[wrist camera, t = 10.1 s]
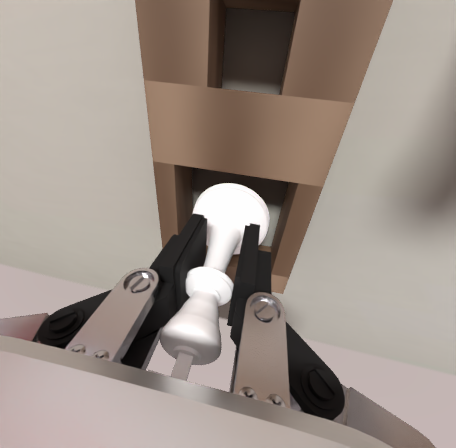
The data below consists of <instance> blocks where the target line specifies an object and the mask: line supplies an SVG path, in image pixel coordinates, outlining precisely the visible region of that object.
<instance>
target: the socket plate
mask: <svg viewBox="0 0 456 448" xmlns="http://www.w3.org/2000/svg"><path fill="white" fill-rule="evenodd" d="M392 2H393V0H135V4H136V13H137V22H138V31H139V40H140V49H141V58H142V67H143V76H144V85H145V94H146V103H147V112H148V121H149V130H150V139H151V148H152V157H153V166H154V175H155V184H156V193H157V202H158V211H159V220H160V229H161V238H162V247H163V248H164V247H165V245H166V244H167V242H168V241H169V240H170V238H171V237H172V236H173V235H174V234H176V235H179V234H180V232H181V231H182V229H183V228H184V226H185V225H186V223H187V222H188V220H189V219H190V217H191V216H192V167H194V168H201V169H208V170H214V171H221V172H227V173H234V174H241V175H247V176H254V177H261V178H267V179H274V180H280V181H287V182H289V183H288V187H287V190H286V194H285V198H284V201H283V205H282V209H281V212H280V216H279V220H278V223H277V227H276V231H275V234H274V238H273V242H272V246H271V247H268V246H263V245H259V246H258V250H261V251H267V252H271V292H276V293H281V294H283V292H284V289H285V287H286V284H287V281H288V279H289V276H290V273H291V271H292V268H293V265H294V263H295V260H296V257H297V255H298V252H299V249H300V247H301V244H302V241H303V239H304V236H305V234H306V231H307V228H308V226H309V223H310V220H311V218H312V215H313V212H314V210H315V207H316V204H317V202H318V199H319V196H320V194H321V191H322V188H323V186H324V183H325V180H326V178H327V175H328V172H329V170H330V167H331V164H332V162H333V159H334V156H335V154H336V151H337V148H338V146H339V143H340V140H341V138H342V135H343V132H344V130H345V127H346V124H347V122H348V119H349V116H350V114H351V111H352V108H353V106H354V103H355V100H356V98H357V95H358V92H359V90H360V87H361V84H362V82H363V79H364V76H365V74H366V71H367V68H368V66H369V63H370V60H371V58H372V55H373V52H374V50H375V47H376V44H377V42H378V39H379V36H380V34H381V31H382V29H383V26H384V23H385V21H386V18H387V15H388V13H389V10H390V7H391V5H392ZM226 8H240V9H255V10H269V11H284V12H295V18H294V23H293V28H292V33H291V38H290V43H289V48H288V53H287V58H286V63H285V69H284V74H283V79H282V84H281V89H280V94H279V95H275V94H266V93H257V92H248V91H238V90H229V89H221V86H222V70H223V54H224V38H225V22H226ZM207 250H208V246H207V245H206V255H207ZM239 255H240V254H233V255H232V258H231V260H230V262H229V265H228V267H227V270H226V272H225V274H226V275H227V276H228V277H229V278H230V279H231V280H232V282H233V284H234V280H235V275H236V270H237V265H238V260H239ZM204 263H205V262H204ZM203 266H204V265H203Z"/></svg>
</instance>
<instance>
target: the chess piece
mask: <svg viewBox="0 0 456 448" xmlns="http://www.w3.org/2000/svg"><path fill="white" fill-rule="evenodd" d="M193 214H200V215H204V218H207V242H206V245H207V246H208V250H207V255H206V259H205V263H204V266H203V267H197V268H194V269H192V270H190V271H189V272H188V273H187V278H186V293H187V294H188V295H189V296H190V298H189V299H188V300H187V301H186V302H185V303H184V305H183V306H182V308H181V309H180V310H179V311H178V312H177V313H176V315H175V316H173V317H172V318H171V319H170V320H169V322H168V323H167V324H166V325H165V326H164V328H163V329H162V331H161V333H160V343H161V345H162V347H163V348H164V350H165V351H166V352H167V353H168V354H169V355H171V356H172V357H174V358H175V359H176V363H175V366H174V368H173V371H172V374H171V377H173V378H177V379H181V380H184V381H187V377H188V374H189V370H190V367H191V365H204V364H209V363H211V362H213V361H215V360H216V359H217V358H218V357H219V356H220V353H221V335H220V330H219V313H218V306H221V305H224V304H226V303H227V302H229V300H230V299H231V297H232V292H233V286H234V284H233V282H232V280H231V279H230V278H229V277H228V276H227V275H226V274H225V272H226V270H227V267H228V265H229V262H230V260H231V258H232V255H233V254H240V249H241V244H242V239H243V234H244V229H245V225H247V226H249V225H250V223H252V224H257V225H260V233H259V245H260V244H261V243H262V241H263V240H264V238H265V237H266V234H267V231H268V228H269V223H270V216H269V211H268V208H267V206H266V204H265V202H264V201H263V200H262V198H261V197H260V196H259V195H258V194H257V193H256V192H254V191H253V190H251V189H249V188H247V187H245V186H243V185H239V184H234V183H222V184H217V185H214V186H212V187H210V188H208V189H207V190H205V191H204V192H203V193H202V194H201V195H200V196H199V198H198V199H197V201H196V204H195V207H194V209H193ZM259 245H258V246H259ZM148 371H150V370H148ZM150 372H154V371H150ZM154 373H157V372H154ZM158 374H160V373H158ZM162 375H164V374H162ZM165 376H167V375H165ZM169 377H170V376H169Z"/></svg>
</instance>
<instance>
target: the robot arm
mask: <svg viewBox="0 0 456 448" xmlns="http://www.w3.org/2000/svg"><path fill="white" fill-rule="evenodd" d="M259 233H260V225H257V224H252V223H250V225H249V226H247V225H245V229H244V234H243V239H242V244H241V249H240V255H239V260H238V265H237V270H236V275H235V280H234V286H233V292H232V298H231V304H230V310H229V317H228V323H227V325H228V326H232V329H231V335H230V337H231V339H232V340H233V341H234V343H235V345H236V351H235V358H234V366H233V372H232V379H231V385H230V392H226V391H222V390H218V389H215V388H211V387H207V386H203V385H199V384H196V383H192V382H188V381H184V380H181V379H177V378H173V377H169V376H165V375H162V374H158V373H154V372H150V371H146V368H147V366H148V364H149V361H150V359H151V357H152V355H153V352H154V350H155V348H156V346H157V344H158V341H159V339H160V333H161V331H162V329H163V328H164V326H165V325H166V324H167V323H168V322H169V320H170V319H171V318H172V317H173V316H175V315H176V313H177V312H178V311H179V310H180V309H181V308H182V306H183V305H184V303H185V302H186V301H187V300H188V299H189V298H190V296H189V295H188V294H187V293H186V278H187V273H188V272H189V271H190V270H192V269H194V268H197V267H203V265H204V262H205V259H206V242H207V218H204V215H200V214H192V216H191V217H190V219H189V220H188V222H187V223H186V225H185V226H184V228H183V229H182V231H181V232H180V234H179V235H176V234H174V235H173V236H172V237H171V238H170V240H169V241H168V242H167V244H166V245H165V247H164V248H163V249H162V251H161V252H160V254H159V255H158V256H157V258H156V259H155V261H154V262H153V264H152V265H151V266H150V268H138V269H135V270H132V271H130V272H128V273H127V274H125V275H124V276H123V277H122V278H121V280H120V281H119V282H118V283H117V285H116V286H115V287H114V288H113V289H112V290H109V291H107V292H104V293H101V294H99V295H96V296H93V297H91V298H88V299H86V300H83V301H80V302H77V303H75V304H72V305H69V306H67V307H64V308H62V309H60V310H58V311H56V312H55V313H53V314H52V315H48V313H42V314H35V315H28V316H20V317H12V318H4V319H0V448H436V447H435V446H434V445H433V444H432V443H431V441H430V440H429V439H428V438H427V437H425V436H424V435H423V434H422V433H420V432H419V431H418V430H416V429H415V428H413V427H412V426H410V425H409V424H407V423H406V422H404V421H402V420H401V419H399V418H398V417H396V416H395V415H393V414H392V413H390V412H389V411H387V410H386V409H384V408H382V407H381V406H379V405H378V404H376V403H375V402H373V401H372V400H370V399H369V398H367V397H366V396H364V395H362V394H361V393H359V392H358V391H356V390H355V389H353V388H352V387H350V388H349V389H348V388H346V387H345V386H343V385H342V384H340V382H339V380H338V378H337V377H336V375H335V374H334V373H333V371H332V370H331V369H330V368H329V367H328V366H327V365H326V364H325V363H324V362H323V361H322V360H321V359H320V358H319V356H318V355H317V354H316V353H315V352H314V351H313V350H312V349H311V348H310V347H309V346H308V345H307V344H306V342H304V340H303V339H302V338H301V337H300V336H299V335H298V334H297V333H296V332H295V331H294V330H293V328H292V327H291V326H290V325H289V324H288V323H287V322H286V320H285V310H284V307H283V305H282V303H281V302H280V301H279V300H278V299H277V298H276V297H275V296H273V295H272V294H271V252H267V251H261V250H258V245H259Z"/></svg>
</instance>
